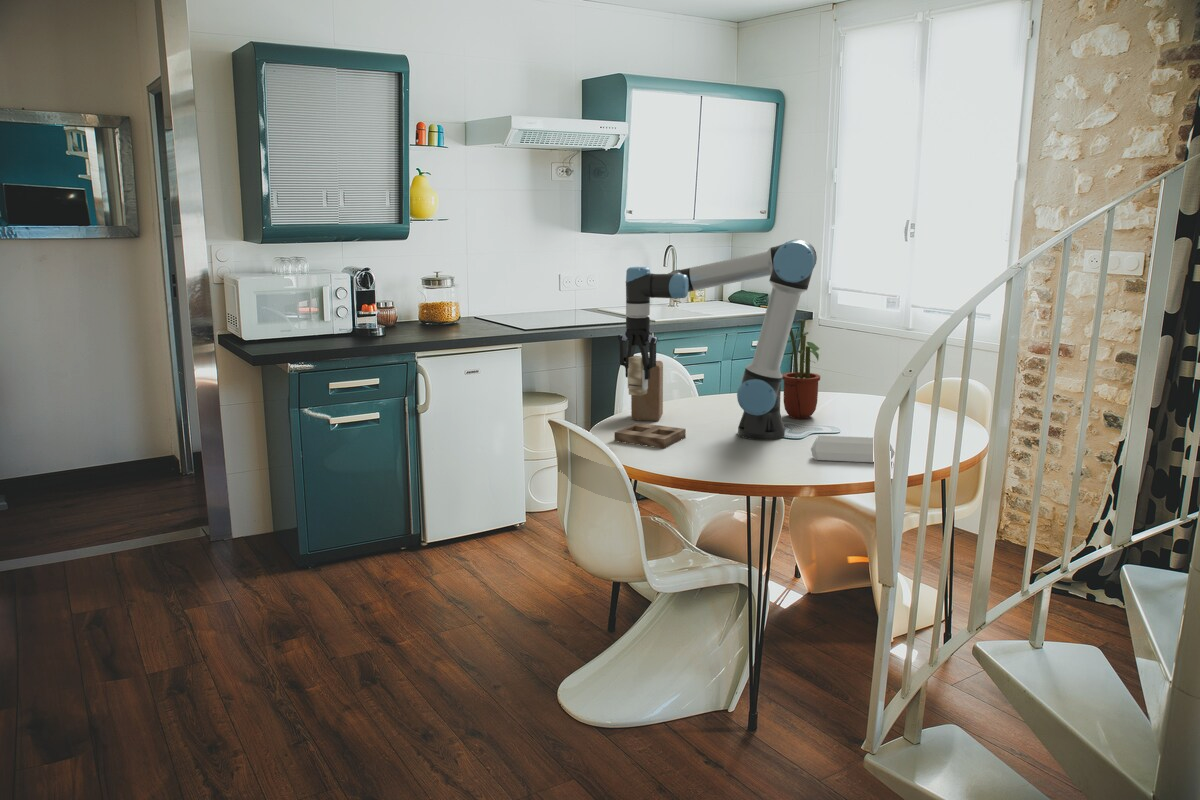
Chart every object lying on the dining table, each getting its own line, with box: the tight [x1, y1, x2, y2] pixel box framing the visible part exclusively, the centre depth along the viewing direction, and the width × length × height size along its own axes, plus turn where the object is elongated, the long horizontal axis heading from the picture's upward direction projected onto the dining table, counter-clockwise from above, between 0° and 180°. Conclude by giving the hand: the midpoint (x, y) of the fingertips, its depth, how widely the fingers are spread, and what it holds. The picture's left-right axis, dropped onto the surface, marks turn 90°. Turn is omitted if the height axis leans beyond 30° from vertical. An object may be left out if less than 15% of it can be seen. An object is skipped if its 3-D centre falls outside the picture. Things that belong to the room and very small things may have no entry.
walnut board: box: [613, 422, 687, 449], centre depth 301 cm, size 18×15×3 cm
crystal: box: [810, 435, 895, 463], centre depth 276 cm, size 7×7×24 cm
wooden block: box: [630, 360, 664, 422], centre depth 328 cm, size 10×10×20 cm
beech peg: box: [627, 355, 647, 396], centre depth 299 cm, size 4×4×12 cm
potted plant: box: [782, 318, 821, 420], centre depth 328 cm, size 17×16×35 cm
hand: (637, 388), depth 300 cm, fingers closed on beech peg, 4 cm apart
